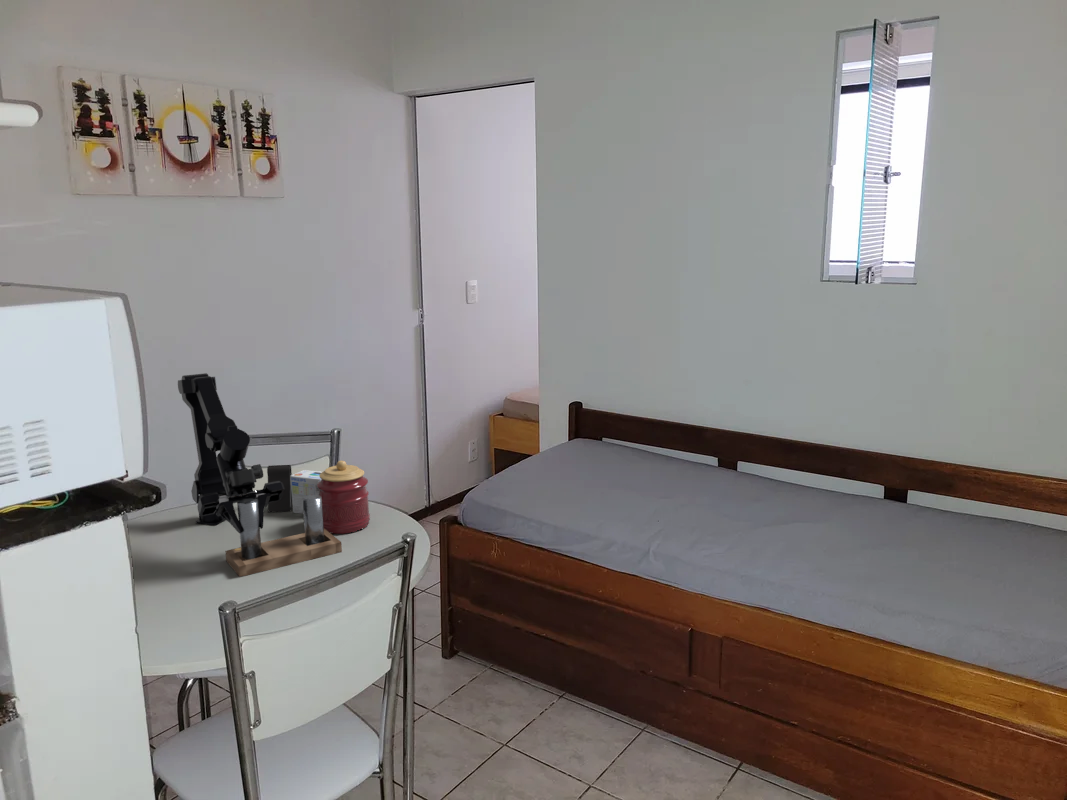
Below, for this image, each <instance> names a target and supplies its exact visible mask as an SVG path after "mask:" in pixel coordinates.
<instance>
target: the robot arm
mask: <svg viewBox="0 0 1067 800" xmlns="http://www.w3.org/2000/svg"><path fill="white" fill-rule="evenodd" d="M216 380H217V379H216V376H209V373H207V372H205V373H196V374H186V375H182V376H181V379H179V380H177V389H178V392H179V394H181V400H182V401H183V403H185V404H186V406H187V407H188V408H189V409H190V413H191V419H192V427H193V433H194V441H195V444H196V445H195V446H196V451H197V458H198V465H197V468H196V470H195V472H194V480H193V481H192V487H191V497H192V500H193V501H194V502H195V503H196V504H197V511H198V519H197V520H195V524H201V525H202V524H203V525H209V526H210V525H211V526H212V525H213V526H216V525H219V524H221V523H222V522H225V521H226V522H228V523H229V524H230V525H231V526H232V527H233V528H234V530H236V532H237V533H239V534H240V533H242V530H241V526H240V523H239V518H238V514H236V510H235V507H234V504H237V502H238V501H240V500H243V499H256V500H258V512H259V524H260V530H262V529H263V528H264V518H265V517H264V513H265V508H266V507H268V503H272V502H277V501H280V500H281V498H282V496H283V493H284V490H285V488H284V485H283V483H281V482H280V481H275V482H270V483H268V482H265V483H264V486H263V488H262V489H258V490H256V489H255V487H256V484H255V483H257V480H258V479H259V480H260V479H262V478H263V477H264V471H263V468H262V464H260V463H259V464H254V465H252V466H251V467H250V468H248V467H246V464H245V461H244V459H245V458H246V456H247V453H248V448H249V446H250V442H251V439H250V435H249V434H248V433H247V432H246V431H244V430H242V429H240V428H238V426H237V424H236V422H235V420H234V419H232V418H230V417H228V416H227V414H226V413H225V410H224V407H223V405H222V401H221V399H220V397H219V394H218V391H217V390H218V389H217V381H216ZM218 451H219V453H218V454H217V452H218ZM254 489H255V490H254Z"/></svg>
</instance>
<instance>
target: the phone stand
mask: <svg viewBox="0 0 1067 800" xmlns="http://www.w3.org/2000/svg"><path fill="white" fill-rule="evenodd" d="M266 473H267V483H270V482H275V481H280V482H281V483H283V485H284V488H285V490H284V493H283V496H282V498H281V500H280V501H277V502H272V503H268V505H267V513H284V512H285V513H286V512H291V511H292V510H293V505H292V492H291V480H290V476H291V475H293V474H292V473H293V472H292V465H291V464H281V465H279V464H278V465H274V464H273V465H268V466H267V469H266Z"/></svg>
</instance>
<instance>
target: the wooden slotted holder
mask: <svg viewBox="0 0 1067 800" xmlns="http://www.w3.org/2000/svg"><path fill="white" fill-rule="evenodd" d="M261 550H262V555H261V556H260V557H257V558H254V559H244V558H242V554H241V546H240V547H237V548H232V549H228V550H225V561H226V563H228V565H229V566H230V567H231V568H232V570H233V571H234V572H235V573H236V575H238V577H239V578H241V577H246V576H249V575H253V574H258V573H261V572H266V571H269V570H274V569H278V568H282V567H286V566H291V565H294V564H298V563H304V562H306V561H310V560H311V561H312V560H315V559H318V558H319V559H320V558H322V557H326V556H331V555H335V554H338V553H342V551H343V549H342V541H341V540H339V539H338V538H337V537H336V536H334V535H333V533H329V532H328V531H327V530H326V529H324V542H322V543H318V544H314V545H309V546H307V545H306V542H305V532H303V533H299V534H294V535H289V536H285V537H284V536H283V537H281V538H277V539H272V540H267V541H263V542H262V541H261Z"/></svg>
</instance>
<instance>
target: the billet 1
mask: <svg viewBox="0 0 1067 800" xmlns="http://www.w3.org/2000/svg"><path fill="white" fill-rule="evenodd" d="M236 504H237V518H238V520H239V523H240V526H241V530H242V533H239V539H240V540H239V541H240V547H241V554H242V558H244V559H254V558H257V557H258V558H259V557H260V556H261V555H262V550H261V543H262V539H261V529H260V524H259V512H258V500H256V499H243V500H240V501H238V502H237V503H236Z"/></svg>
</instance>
